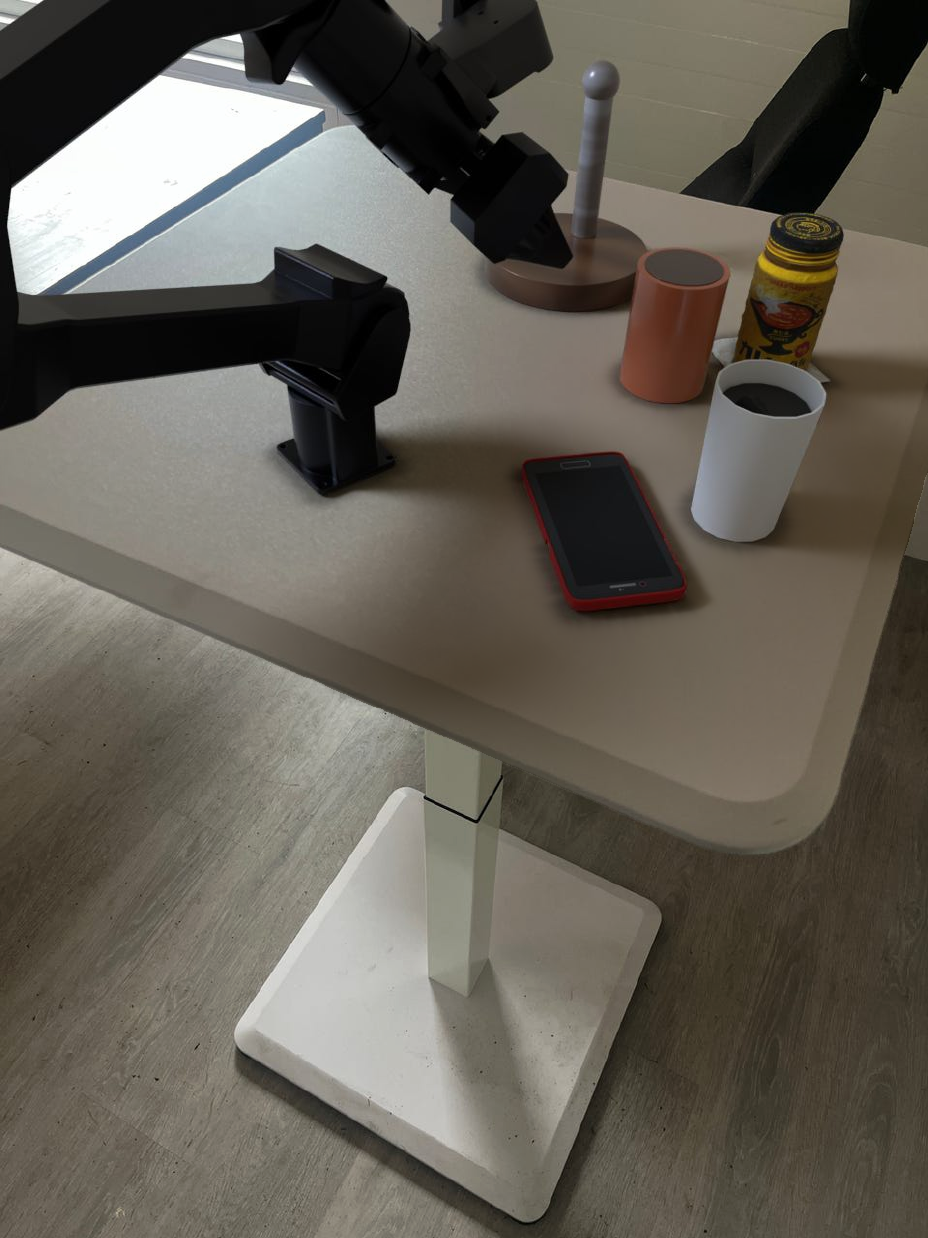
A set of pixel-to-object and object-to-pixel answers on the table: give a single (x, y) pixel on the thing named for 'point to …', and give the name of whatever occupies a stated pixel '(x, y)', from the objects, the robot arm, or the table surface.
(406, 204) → the table surface
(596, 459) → the cell phone
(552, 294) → the towel holder
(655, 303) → the cup
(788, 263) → the condiment
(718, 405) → the white coffee cup
